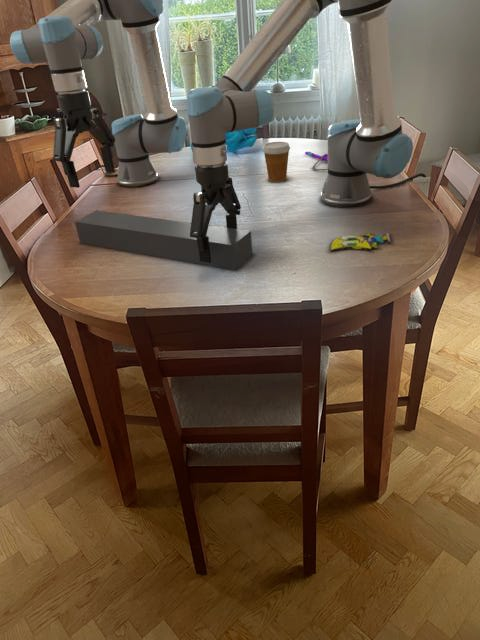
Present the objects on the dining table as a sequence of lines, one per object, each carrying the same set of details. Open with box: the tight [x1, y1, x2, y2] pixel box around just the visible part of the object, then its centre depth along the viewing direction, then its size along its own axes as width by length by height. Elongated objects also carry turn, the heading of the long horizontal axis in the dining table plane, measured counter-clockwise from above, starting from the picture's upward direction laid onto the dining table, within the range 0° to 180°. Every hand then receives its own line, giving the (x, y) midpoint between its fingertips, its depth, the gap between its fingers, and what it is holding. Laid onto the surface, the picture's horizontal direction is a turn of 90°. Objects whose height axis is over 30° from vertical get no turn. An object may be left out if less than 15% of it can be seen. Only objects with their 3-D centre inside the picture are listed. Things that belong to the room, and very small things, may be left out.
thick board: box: [74, 209, 253, 271], centre depth 127 cm, size 51×9×7 cm, turn 62°
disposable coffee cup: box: [262, 141, 291, 183], centre depth 169 cm, size 10×10×12 cm
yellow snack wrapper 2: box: [330, 232, 391, 252], centre depth 122 cm, size 10×1×15 cm
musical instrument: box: [304, 151, 328, 171], centre depth 185 cm, size 24×2×20 cm
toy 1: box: [189, 128, 258, 154], centre depth 209 cm, size 17×11×30 cm
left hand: (93, 179), depth 128 cm, fingers open, 13 cm apart
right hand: (219, 250), depth 120 cm, fingers open, 13 cm apart
